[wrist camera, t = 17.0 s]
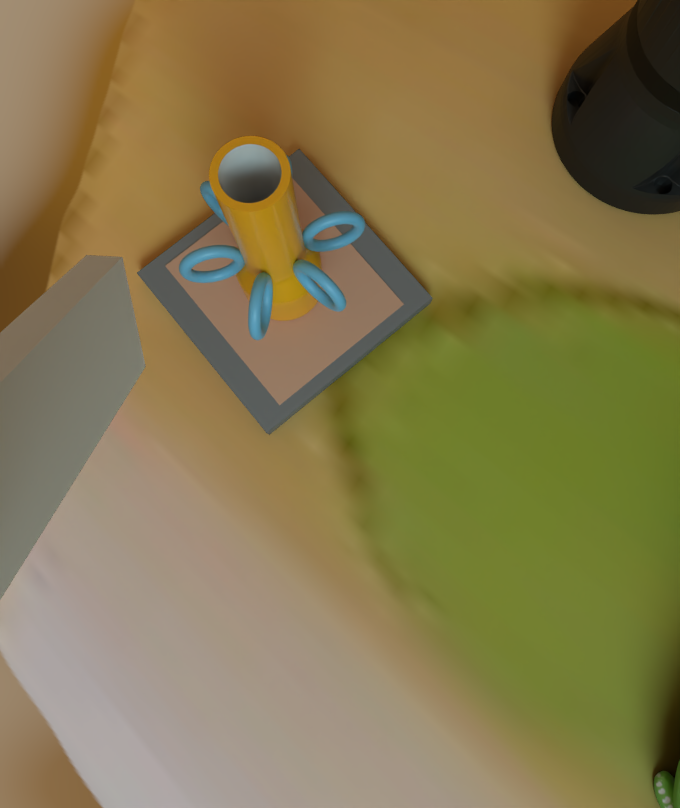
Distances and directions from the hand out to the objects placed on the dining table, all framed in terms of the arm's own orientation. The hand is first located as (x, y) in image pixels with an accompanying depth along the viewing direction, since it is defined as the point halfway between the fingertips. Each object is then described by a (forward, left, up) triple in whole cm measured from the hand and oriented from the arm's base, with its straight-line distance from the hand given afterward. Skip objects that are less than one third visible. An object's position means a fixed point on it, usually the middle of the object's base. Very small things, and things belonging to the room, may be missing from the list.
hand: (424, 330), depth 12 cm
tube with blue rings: (-2, -13, -28) cm, 31 cm away
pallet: (-2, -13, -29) cm, 32 cm away
